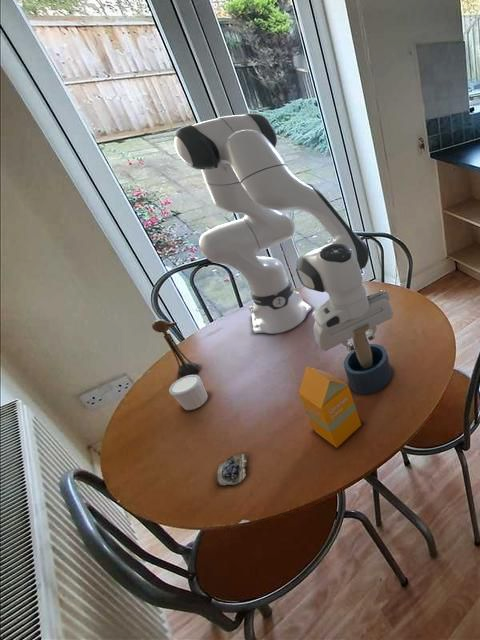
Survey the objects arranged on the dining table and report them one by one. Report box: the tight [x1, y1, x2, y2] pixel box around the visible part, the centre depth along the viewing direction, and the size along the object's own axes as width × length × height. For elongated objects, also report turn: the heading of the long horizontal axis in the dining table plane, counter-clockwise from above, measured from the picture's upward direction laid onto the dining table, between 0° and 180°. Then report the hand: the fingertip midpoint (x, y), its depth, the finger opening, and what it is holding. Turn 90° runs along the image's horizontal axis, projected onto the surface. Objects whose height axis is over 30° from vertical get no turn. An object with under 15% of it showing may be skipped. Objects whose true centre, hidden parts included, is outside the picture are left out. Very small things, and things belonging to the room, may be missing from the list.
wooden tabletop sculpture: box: [151, 319, 200, 378], centre depth 114 cm, size 6×5×20 cm
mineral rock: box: [216, 453, 247, 486], centre depth 92 cm, size 7×8×2 cm
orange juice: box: [298, 365, 362, 448], centre depth 97 cm, size 8×9×20 cm
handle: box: [352, 324, 373, 369], centre depth 110 cm, size 5×6×15 cm
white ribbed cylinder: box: [168, 374, 209, 411], centre depth 108 cm, size 7×7×7 cm
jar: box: [343, 343, 392, 395], centre depth 114 cm, size 12×12×8 cm
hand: (361, 344), depth 110 cm, fingers closed on handle, 4 cm apart
